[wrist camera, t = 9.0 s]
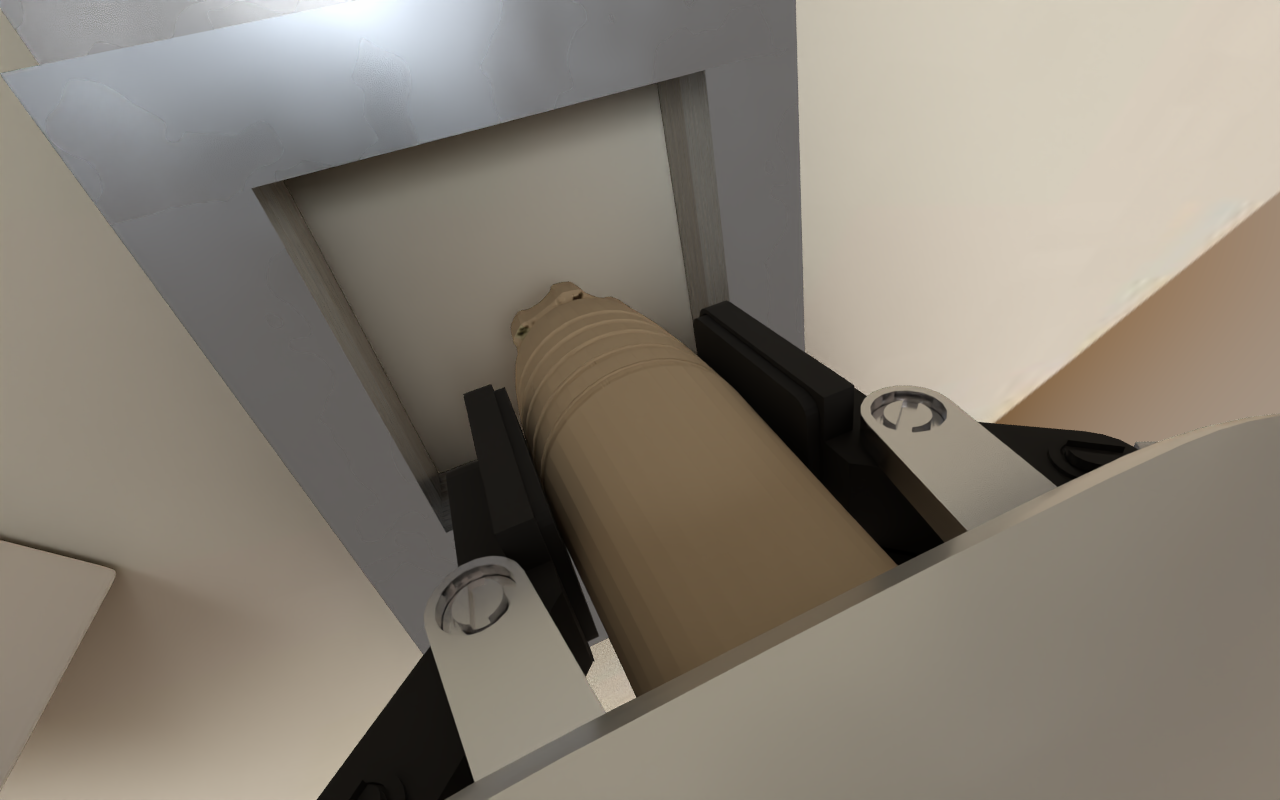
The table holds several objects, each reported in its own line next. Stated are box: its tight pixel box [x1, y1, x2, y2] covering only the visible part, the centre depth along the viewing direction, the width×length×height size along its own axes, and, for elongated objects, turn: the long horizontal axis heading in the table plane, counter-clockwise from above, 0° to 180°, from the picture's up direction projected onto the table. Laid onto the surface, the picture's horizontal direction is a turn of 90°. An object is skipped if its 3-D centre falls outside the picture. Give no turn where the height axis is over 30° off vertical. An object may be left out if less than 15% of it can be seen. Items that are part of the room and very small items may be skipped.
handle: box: [511, 281, 898, 698], centre depth 9 cm, size 5×6×15 cm
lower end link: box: [0, 0, 709, 501], centre depth 14 cm, size 20×15×3 cm
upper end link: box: [0, 0, 805, 655], centre depth 17 cm, size 20×15×5 cm
